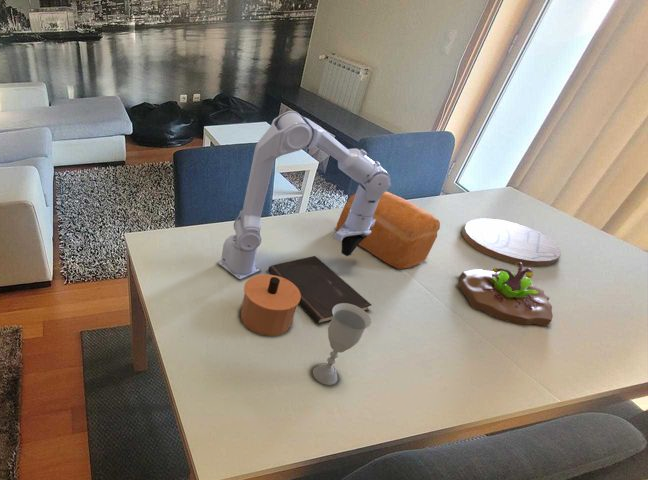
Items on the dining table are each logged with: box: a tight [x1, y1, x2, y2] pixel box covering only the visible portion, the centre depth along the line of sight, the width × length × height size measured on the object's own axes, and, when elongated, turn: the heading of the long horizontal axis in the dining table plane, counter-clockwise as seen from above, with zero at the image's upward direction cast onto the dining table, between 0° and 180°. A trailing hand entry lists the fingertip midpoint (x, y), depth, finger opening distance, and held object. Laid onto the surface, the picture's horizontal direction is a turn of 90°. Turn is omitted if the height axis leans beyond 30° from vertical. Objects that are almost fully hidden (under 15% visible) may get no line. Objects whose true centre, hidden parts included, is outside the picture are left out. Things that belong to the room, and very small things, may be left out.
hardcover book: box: [267, 255, 372, 325], centre depth 109 cm, size 16×23×2 cm
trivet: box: [461, 218, 562, 267], centre depth 128 cm, size 25×25×2 cm
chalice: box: [312, 303, 372, 386], centre depth 82 cm, size 7×7×18 cm
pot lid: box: [243, 274, 301, 311], centre depth 95 cm, size 13×13×5 cm
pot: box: [240, 292, 298, 337], centre depth 99 cm, size 12×12×8 cm
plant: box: [458, 262, 553, 327], centre depth 103 cm, size 20×20×11 cm
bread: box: [335, 191, 441, 270], centre depth 123 cm, size 14×26×16 cm, turn 24°
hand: (345, 254), depth 113 cm, fingers closed
